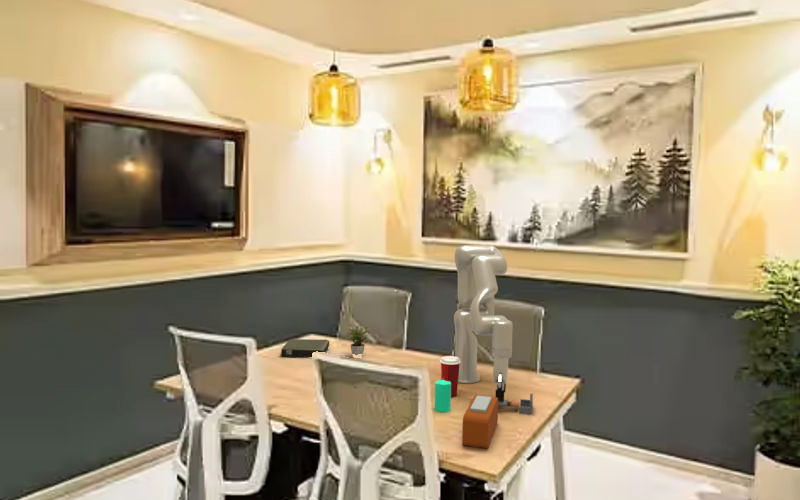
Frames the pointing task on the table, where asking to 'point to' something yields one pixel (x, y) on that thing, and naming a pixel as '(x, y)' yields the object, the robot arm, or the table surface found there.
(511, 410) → the frame
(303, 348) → the network switch
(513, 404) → the ball
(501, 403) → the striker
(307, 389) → the table surface
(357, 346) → the house plant
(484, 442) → the alarm clock
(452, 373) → the coffee cup
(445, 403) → the candle
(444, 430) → the table surface
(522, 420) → the table surface
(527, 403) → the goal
